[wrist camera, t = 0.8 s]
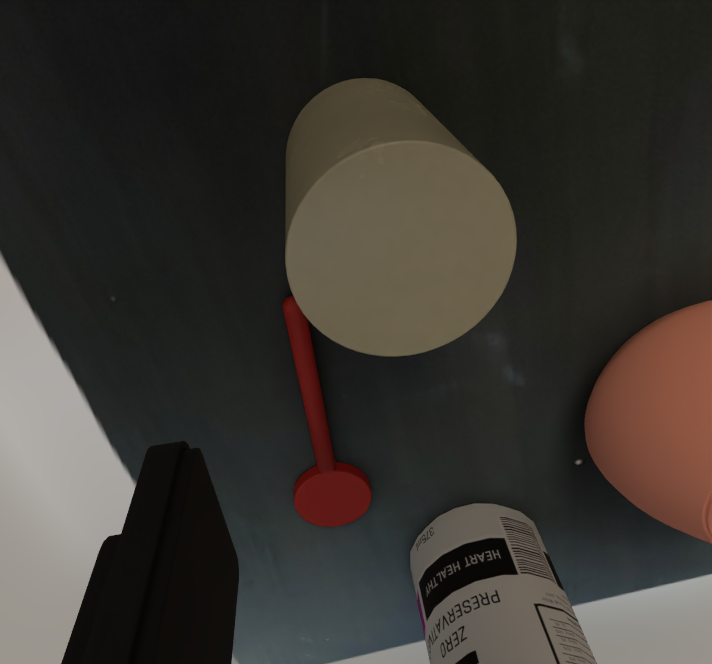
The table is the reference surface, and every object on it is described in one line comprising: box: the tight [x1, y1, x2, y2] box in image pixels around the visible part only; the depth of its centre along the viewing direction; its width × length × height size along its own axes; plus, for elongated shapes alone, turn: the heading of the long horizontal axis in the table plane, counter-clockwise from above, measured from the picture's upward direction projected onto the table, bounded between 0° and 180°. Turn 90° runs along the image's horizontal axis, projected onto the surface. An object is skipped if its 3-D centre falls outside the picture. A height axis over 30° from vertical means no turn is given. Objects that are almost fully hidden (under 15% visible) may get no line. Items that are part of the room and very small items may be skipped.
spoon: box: [283, 295, 372, 527], centre depth 31 cm, size 15×4×1 cm, turn 7°
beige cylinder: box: [285, 78, 517, 356], centre depth 21 cm, size 6×6×10 cm
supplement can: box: [410, 503, 597, 664], centre depth 32 cm, size 8×8×15 cm
